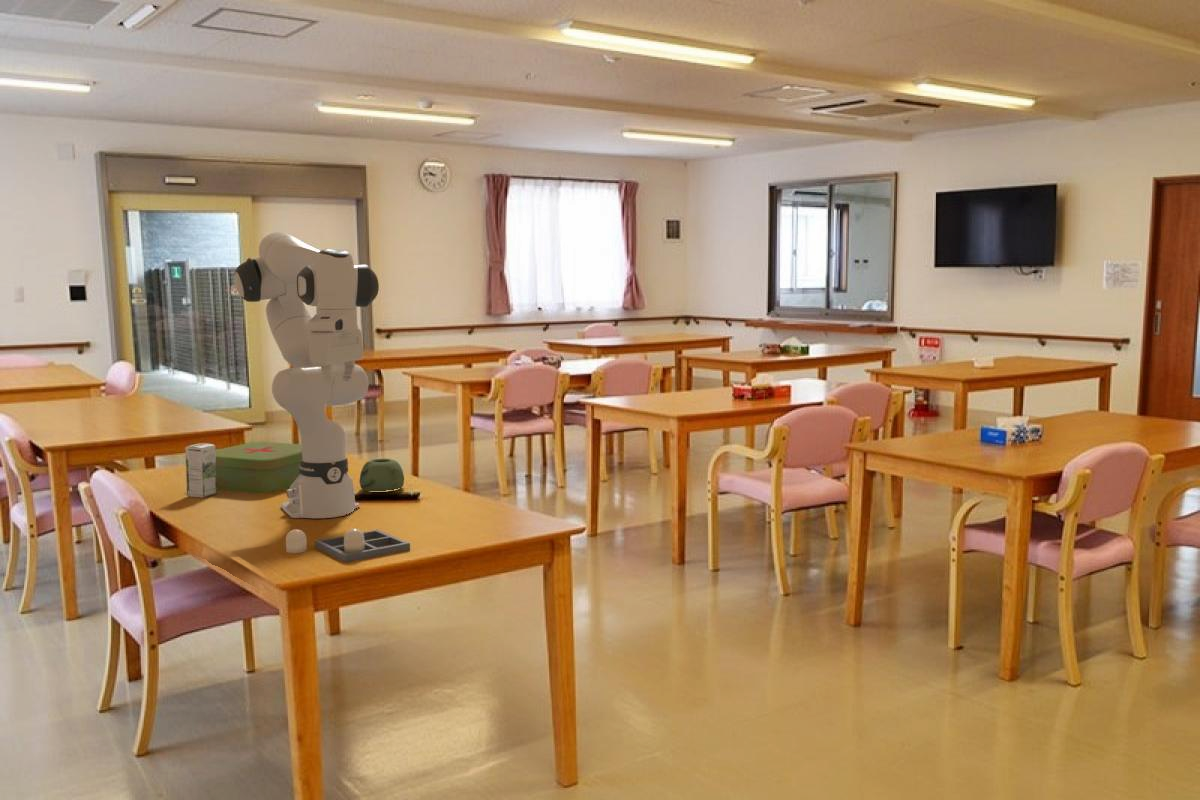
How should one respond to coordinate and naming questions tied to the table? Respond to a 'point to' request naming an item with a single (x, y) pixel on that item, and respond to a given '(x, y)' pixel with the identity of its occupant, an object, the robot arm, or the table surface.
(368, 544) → the carton
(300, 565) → the table surface
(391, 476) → the green pot
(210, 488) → the syrup box
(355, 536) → the resting egg
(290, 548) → the egg
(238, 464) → the first aid kit
